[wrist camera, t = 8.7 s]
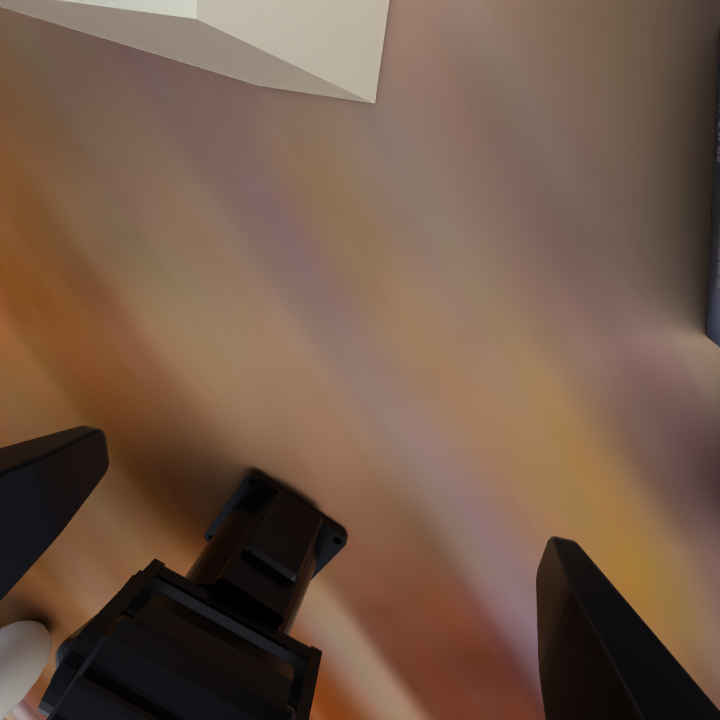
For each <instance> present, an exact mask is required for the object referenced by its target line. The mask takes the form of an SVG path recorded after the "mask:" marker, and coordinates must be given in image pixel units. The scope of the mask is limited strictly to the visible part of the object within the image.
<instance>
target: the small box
mask: <svg viewBox="0 0 720 720" xmlns="http://www.w3.org/2000/svg"><path fill="white" fill-rule="evenodd" d="M706 334H707V337H708V338H709V339H710V340H712V341H713V342H714V343H715V344H717V345H718V346H719V347H720V39H719V64H718V86H717V107H716V132H715V151H714V178H713V202H712V223H711V243H710V272H709V291H708V314H707V332H706Z"/></svg>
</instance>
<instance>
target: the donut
mask: <svg viewBox="0 0 720 720" xmlns="http://www.w3.org/2000/svg"><path fill="white" fill-rule="evenodd" d="M51 646H52V640H51V636H50V634H49V632H48V631H47V629H46V627H45V626H44V625H43V624H41V623H40V622H36V621H18V622H15V623H12V624H10V625H7V626H5V627H2V628H0V720H3V719H4V718H5V717H6V716H7V715H8V714H9V713H10V712H11V711H12V710H13V709H14V708H15V707H16V706H17V705H18V703H19V702H20V701H21V700H22V699H23V698H24V696H25V695H26V694H27V692H28V691H29V690H30V689H31V687H32V686H33V685H34V683H35V682H36V681H37V679H38V677H39V676H40V674H41V672H42V671H43V669H44V667H45V665H46V664H47V661H48V657H49V653H50V650H51Z"/></svg>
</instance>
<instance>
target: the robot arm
mask: <svg viewBox="0 0 720 720" xmlns="http://www.w3.org/2000/svg"><path fill="white" fill-rule="evenodd" d="M108 466H109V457H108V450H107V443H106V436H105V433H104V432H103V430H101V429H99V428H94V427H90V426H79V427H75V428H71V429H68V430H64V431H61V432H57V433H53V434H50V435H46V436H43V437H39V438H35V439H32V440H28V441H25V442H21V443H17V444H14V445H10V446H7V447H3V448H0V601H1V600H2V599H3V597H4V596H5V595H6V594H7V593H8V592H9V591H10V590H11V589H12V587H13V586H14V585H15V584H16V583H17V582H18V581H19V580H20V578H21V577H22V576H23V575H24V574H25V573H26V572H27V571H28V570H29V568H30V567H31V566H32V565H33V564H34V563H35V562H36V561H37V560H38V558H39V557H40V556H41V555H42V554H43V553H44V552H45V551H46V549H47V548H48V547H49V546H50V545H51V544H52V543H53V541H54V540H55V539H56V538H57V537H58V536H59V534H60V533H61V532H62V531H63V529H64V528H65V527H66V525H67V524H68V523H69V522H70V520H71V519H72V518H73V516H74V515H75V514H76V512H77V511H78V509H79V508H80V507H81V505H82V504H83V503H84V501H85V500H86V499H87V497H88V496H89V495H90V493H91V492H92V491H93V489H94V488H95V487H96V485H97V484H98V483H99V481H100V480H101V479H102V477H103V476H104V475H105V473H106V471H107V469H108ZM253 479H254V480H256V481H257V482H255V481H254V480H253ZM336 537H338V538H340V539H338V538H336ZM205 539H206V541H207V542H209V543H208V544H207V545H206V547H205V548H204V550H203V551H202V553H201V554H200V556H199V557H198V559H197V560H196V561H195V563H194V564H193V566H192V567H191V569H190V570H189V572H188V573H187V574H186V576H185V577H183V576H181V575H179V574H178V573H176V572H174V571H172V570H170V569H169V568H167V567H165V564H164V563H162V562H161V561H159V560H157V559H154V560H153V561H152V562H151V563H150V564H149V565H148V566H147V567H146V568H145V569H144V570H143V571H141V570H140V571H138V572H137V574H136V575H132V577H131V578H130V579H129V580H128V582H127V583H126V584H125V585H124V587H123V588H122V589H121V590H120V591H119V592H118V593H117V594H116V595H115V596H114V597H113V598H112V599H111V600H110V601H109V603H108V604H107V605H106V606H105V607H104V608H103V609H102V610H101V611H100V612H99V613H98V614H97V615H95V616H94V617H93V618H91V619H90V620H89V621H88V622H86V623H85V624H84V625H83V626H81V627H80V628H79V629H78V630H76V631H75V632H74V633H73V634H71V635H70V636H69V637H68V638H67V639H66V640H65V641H64V642H63V643H62V644H61V646H60V647H59V649H58V650H57V652H56V671H55V673H54V675H53V677H52V679H51V681H50V685H49V686H48V688H47V690H46V692H45V694H44V696H43V698H42V700H41V702H40V705H39V707H38V712H39V713H41V714H43V715H45V716H47V717H48V718H47V719H46V720H309V716H310V711H311V706H312V701H313V696H314V691H315V686H316V681H317V675H318V670H319V665H320V660H321V655H322V651H321V650H319V649H317V648H315V647H314V646H311V647H309V646H307V645H305V644H304V643H302V642H300V641H298V640H296V639H295V638H293V637H291V636H289V634H290V632H291V629H292V627H293V624H294V621H295V619H296V616H297V614H298V611H299V609H300V606H301V603H302V601H303V598H304V596H305V593H306V591H307V588H308V586H309V583H310V581H311V580H312V579H313V578H314V576H315V575H316V574H317V573H318V572H319V571H320V570H321V569H322V568H323V567H324V566H325V565H326V564H327V563H328V562H329V561H330V560H331V559H332V558H333V557H334V556H335V555H336V554H337V553H338V552H339V551H340V550H341V549H342V548H343V547H344V546H345V545H346V542H347V539H348V535H347V533H346V532H345V531H344V530H343V529H341V528H340V527H339V526H337V525H336V524H334V523H333V522H331V521H330V520H328V519H327V518H326V517H324V516H323V515H321V514H320V513H318V512H317V511H315V510H314V509H312V508H311V507H310V506H308V505H307V504H305V503H304V502H302V501H301V500H299V499H298V498H297V497H295V496H294V495H292V494H291V493H289V492H288V491H286V490H285V489H284V488H282V487H281V486H279V485H278V484H276V483H275V482H273V481H272V480H271V479H269V478H268V477H266V476H265V475H263V474H262V473H260V472H258V471H251V472H249V473H248V475H247V476H246V478H245V479H244V480H243V482H242V483H241V484H240V486H239V487H238V489H237V490H236V491H235V493H234V494H233V496H232V497H231V498H230V500H229V501H228V503H227V504H226V505H225V507H224V508H223V510H222V511H221V512H220V514H219V515H218V517H217V518H216V519H215V521H214V522H213V524H212V525H211V526H210V528H209V529H208V530H207V532H206V533H205ZM536 593H537V629H538V660H539V674H540V683H541V690H542V698H543V705H544V712H545V719H546V720H720V711H719V709H718V708H717V707H716V706H715V705H714V704H713V702H712V701H711V700H710V699H709V698H708V697H707V695H706V694H705V693H704V692H703V691H702V689H701V688H700V687H699V686H698V685H697V684H696V682H695V681H694V680H693V679H692V678H691V676H690V675H689V674H688V673H687V672H686V671H685V669H684V668H683V667H682V666H681V665H680V664H679V662H678V661H677V660H676V659H675V658H674V656H673V655H672V654H671V653H670V652H669V651H668V649H667V648H666V647H665V646H664V645H663V643H662V642H661V641H660V640H659V639H658V638H657V636H656V635H655V634H654V633H653V632H652V630H651V629H650V628H649V627H648V626H647V625H646V623H645V622H644V621H643V620H642V619H641V618H640V616H639V615H638V614H637V613H636V612H635V610H634V609H633V608H632V607H631V606H630V605H629V603H628V602H627V601H626V600H625V599H624V597H623V596H622V595H621V594H620V593H619V592H618V590H617V589H616V588H615V587H614V586H613V585H612V583H611V582H610V581H609V580H608V579H607V577H606V576H605V575H604V574H603V573H602V572H601V570H600V569H599V568H598V567H597V566H596V564H595V563H594V562H593V561H592V560H591V559H590V557H589V556H588V555H587V554H586V553H585V551H584V550H583V549H582V548H581V547H580V546H579V544H578V543H576V542H575V541H573V540H570V539H565V538H561V537H557V536H553V537H551V538H550V539H549V540H548V542H547V545H546V548H545V550H544V553H543V556H542V559H541V561H540V564H539V567H538V571H537V577H536Z"/></svg>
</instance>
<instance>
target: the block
mask: <svg viewBox="0 0 720 720" xmlns="http://www.w3.org/2000/svg"><path fill="white" fill-rule="evenodd" d="M0 7H1V8H5V9H8V10H11V11H15V12H18V13H21V14H24V15H28V16H31V17H34V18H38V19H41V20H44V21H47V22H51V23H54V24H57V25H61V26H64V27H67V28H70V29H74V30H77V31H80V32H84V33H87V34H90V35H93V36H97V37H100V38H103V39H106V40H110V41H113V42H116V43H120V44H123V45H126V46H129V47H133V48H136V49H139V50H143V51H146V52H149V53H152V54H156V55H159V56H162V57H166V58H169V59H172V60H175V61H179V62H182V63H185V64H189V65H192V66H195V67H198V68H202V69H205V70H208V71H212V72H215V73H218V74H221V75H225V76H228V77H231V78H234V79H238V80H241V81H244V82H248V83H251V84H254V85H257V86H263V87H269V88H276V89H282V90H289V91H295V92H302V93H308V94H315V95H321V96H328V97H335V98H341V99H348V100H354V101H361V102H367V103H374V104H375V99H376V92H377V85H378V78H379V71H380V64H381V57H382V50H383V43H384V36H385V29H386V22H387V15H388V8H389V0H0Z"/></svg>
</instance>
